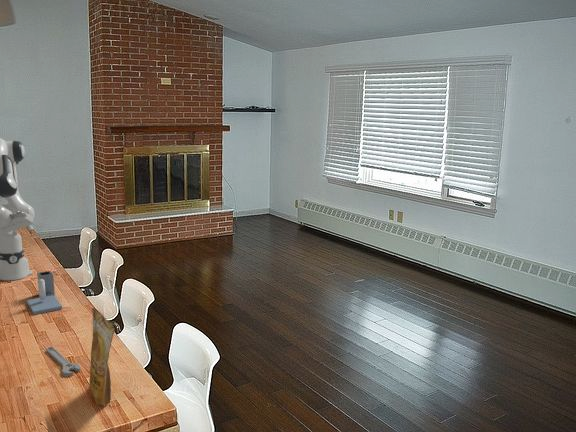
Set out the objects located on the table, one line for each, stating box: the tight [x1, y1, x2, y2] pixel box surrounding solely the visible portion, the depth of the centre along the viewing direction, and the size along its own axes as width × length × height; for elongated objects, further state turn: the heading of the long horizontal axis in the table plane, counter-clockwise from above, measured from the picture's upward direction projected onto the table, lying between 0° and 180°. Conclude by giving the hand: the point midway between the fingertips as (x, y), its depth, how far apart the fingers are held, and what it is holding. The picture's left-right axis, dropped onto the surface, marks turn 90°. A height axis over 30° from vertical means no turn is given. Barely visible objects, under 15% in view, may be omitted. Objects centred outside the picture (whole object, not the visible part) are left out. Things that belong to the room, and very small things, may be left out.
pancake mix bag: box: [88, 307, 115, 408], centre depth 178 cm, size 7×19×28 cm, turn 30°
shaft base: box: [26, 279, 63, 316], centre depth 250 cm, size 16×12×12 cm
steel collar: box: [36, 270, 56, 297], centre depth 264 cm, size 6×6×11 cm
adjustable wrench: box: [46, 346, 81, 377], centre depth 202 cm, size 25×6×2 cm, turn 38°
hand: (23, 231), depth 260 cm, fingers open, 8 cm apart
